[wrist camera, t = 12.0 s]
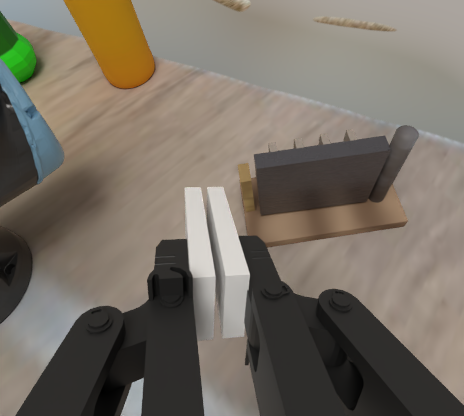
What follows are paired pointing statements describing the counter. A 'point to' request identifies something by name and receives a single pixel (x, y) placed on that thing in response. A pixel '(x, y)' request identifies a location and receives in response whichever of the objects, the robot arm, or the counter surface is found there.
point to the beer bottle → (114, 39)
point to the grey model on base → (332, 217)
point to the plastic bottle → (16, 51)
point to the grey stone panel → (319, 175)
